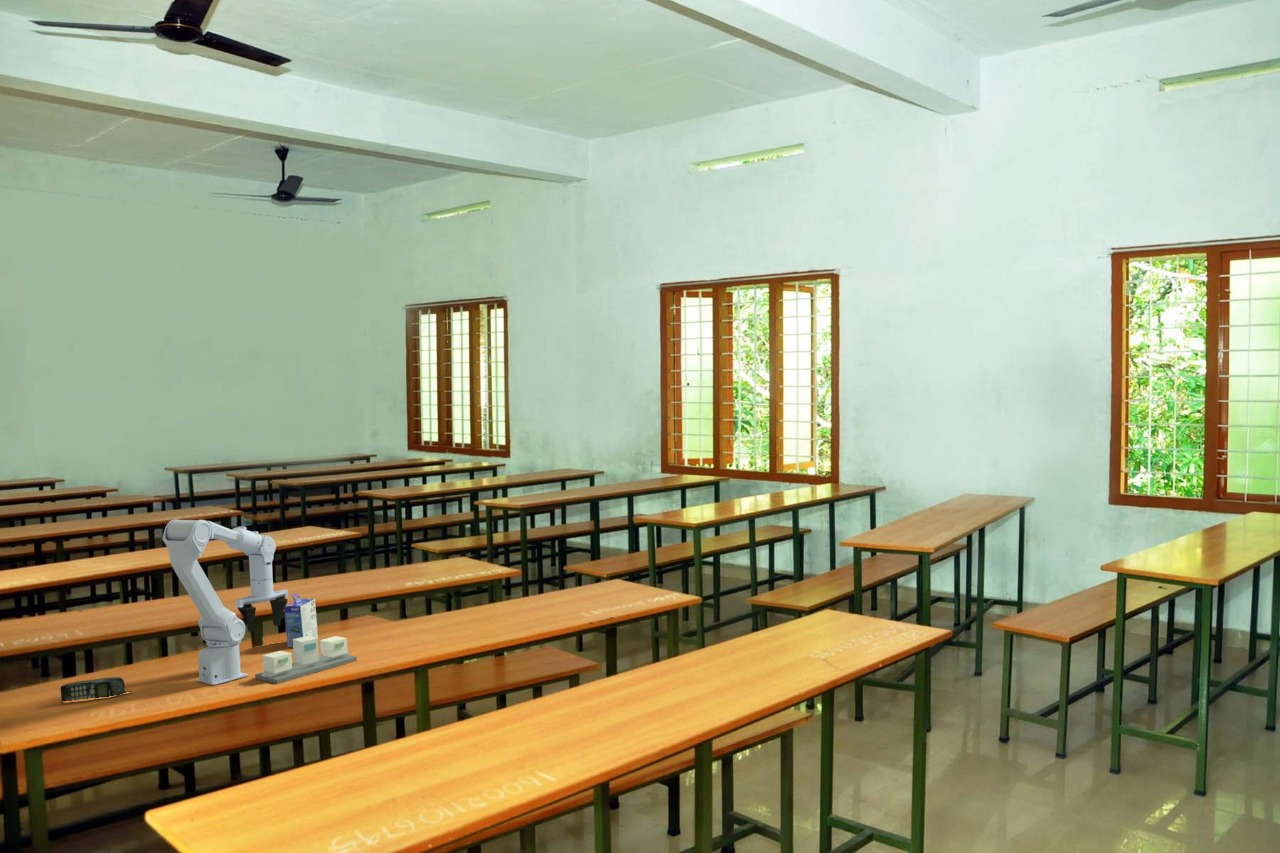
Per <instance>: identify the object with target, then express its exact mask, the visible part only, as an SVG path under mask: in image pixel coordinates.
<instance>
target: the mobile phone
mask: <svg viewBox="0 0 1280 853" xmlns="http://www.w3.org/2000/svg"><path fill="white" fill-rule="evenodd" d="M125 688H126V687H125V680H124V679H123V678H122V677H119V676H114V677H113V676H112V677H101V678H96V679H95V678H94V679H88V680H81V681H75V682H69V683H66V684H63V685H61V686H60V696H61V702H62V701H72V700H79V699H88V698H99V697H109V696H114V695H119V696H121V695H120V694H123V693H126V692H131V691H132V690H127V691H126V689H125Z"/></svg>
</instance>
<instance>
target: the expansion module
mask: <svg viewBox="0 0 1280 853" xmlns="http://www.w3.org/2000/svg"><path fill="white" fill-rule="evenodd" d="M292 650H293V662H294V663H299V664H302V665H304V664H309V663H313V662H317V661H319V656H320V655H319V637H318V638H314V637H311V636H305V637H301V638H296V639H293V647H292Z"/></svg>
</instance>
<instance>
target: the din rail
mask: <svg viewBox="0 0 1280 853" xmlns="http://www.w3.org/2000/svg"><path fill="white" fill-rule="evenodd" d="M348 655H350V651H349V650H348V653H345V654H342V655H338V656H335V657H328V656H324V655H321V654H320V655H319V661H317V662H313V663H309V664H304V665H302V664H299V663H296V662H294V663H293V662H292V669H289V670H286V671H282V672H279V673H271V672H267V671H264V670H263V671H262V676H264V677H268V678H272V677H275V676H279V675H282V674H286V673H289V672H293V671H296V670H300V669H303V668H307V667H310V666H313V665H317V664H320V663H324V662H327V661H331V660H334V659H338V658H341V657H345V656H348Z"/></svg>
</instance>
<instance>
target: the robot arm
mask: <svg viewBox="0 0 1280 853" xmlns="http://www.w3.org/2000/svg"><path fill="white" fill-rule="evenodd" d="M161 538H162V539H161V540H162V541H163V543H164V544H165V546H166V548H167V550H168V555H169V560H170V561H169V562H170V565H171V567H172V569H173V570H174V572H175V574H176V577H178V579H179V581H180V582H181V584H182V586H183V587H184V589H185V591H186V593H187V594H188V595H189V598H190V599H191V601H192V602H193V604H194V606H195V607H196V609H197V610H198V613H199V615H200V618H199V620H198V622H197V624H198V627H199V629H200V635H201V638H202V640H204V641H205V643H206V646H207V647H205V648H203V649H201V650H200V651H199V652H198V656H197V657H198V658H197V660H198V662H197V663H198V676H199V677H198V679H197V681H198V682H200V683H205V684H208V685H211V686H216V685H220V684H223V683H226V682H227V683H228V682H230V681H231V682H232V681H234V680H237V679H241V678H245V677H248V676H249V675H248V673H245V672H241V656H240V655H241V654H240V643H242V640H243V638H244V636H245V633H246V628H247V631H248V632H250V633H255V629H256V624H255V616H256V610H257V608H256V607H255V606H253V605H255V604H260V603H265V602H269V604H270V608H271V613H272V614H271V615H272V623H273V626H276V627H280V626H281V622H282V617H283V613H284V612H285V610H284V608H285V606H287V605H288V599H287V598H289V590H288V589H281V590H274V580H273V579H274V578H273V561H274V558H275V557H274V555H275V552H276V549H277V543H276V542H275V540H274V538H272V537H271V536H270V535H269V534H260V533H259V531H256V530H254V531H251V530H248V529H247V527H246V526H244V525H243V526H242V525H241V526H237V527H233V528H232V529H230V528H228V527H225V526H223V525H220V524H219V523H218V524H217V523H216V522H212V521H210V520H206V519H198V520H194V519H193V520H192V519H178V518H177V519H176V518H175V519H172V520H170V521H169V522H168V523H167V524H166V526H165V528H164V531H163V535H162V537H161ZM210 540H217V541H221V542H226V545H227V547H228V548H229V549H233V550H235V551H239V552H242V553H244V555H246V556H247V557H248V561H249V562H248V564H249V580H250V582H249V583H250V584H249V585H250V595H248V596H245V597H242V598H238V599H235V607H236V608H237V610H238V611H239V613H240V615H241V616H242V617H243V620H244V621H243V620H242V619H240V618H239V617H237V614H236V613H235V612H233V611H231V610H230V609H229V608H227V607H224V604H223V602H222V601H221V599H220V598H219V596H218V594H217V593H216V591H215V589H214V587H213V585H212V584H211V582H210V579H208V577H207V575H206V573H205V571H204V570H203V568H202V567H201V565H200V563H199V561H198V559H199V558H200V557H201V558H202V555H203V553H204V551H205V549H206V547H207V545H208V543H209V541H210Z"/></svg>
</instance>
